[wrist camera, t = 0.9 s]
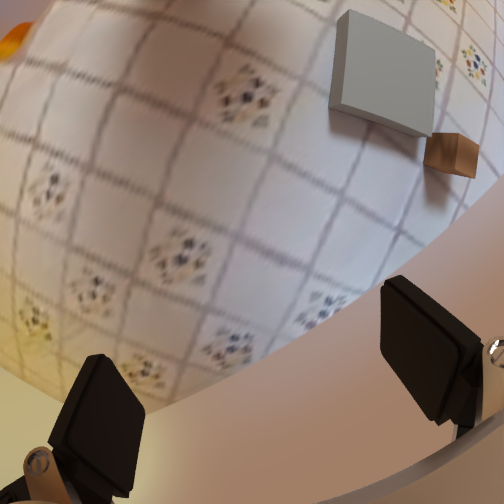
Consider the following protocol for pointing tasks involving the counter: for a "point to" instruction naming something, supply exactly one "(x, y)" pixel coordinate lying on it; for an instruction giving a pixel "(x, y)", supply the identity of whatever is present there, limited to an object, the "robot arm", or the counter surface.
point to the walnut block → (452, 154)
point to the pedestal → (383, 75)
